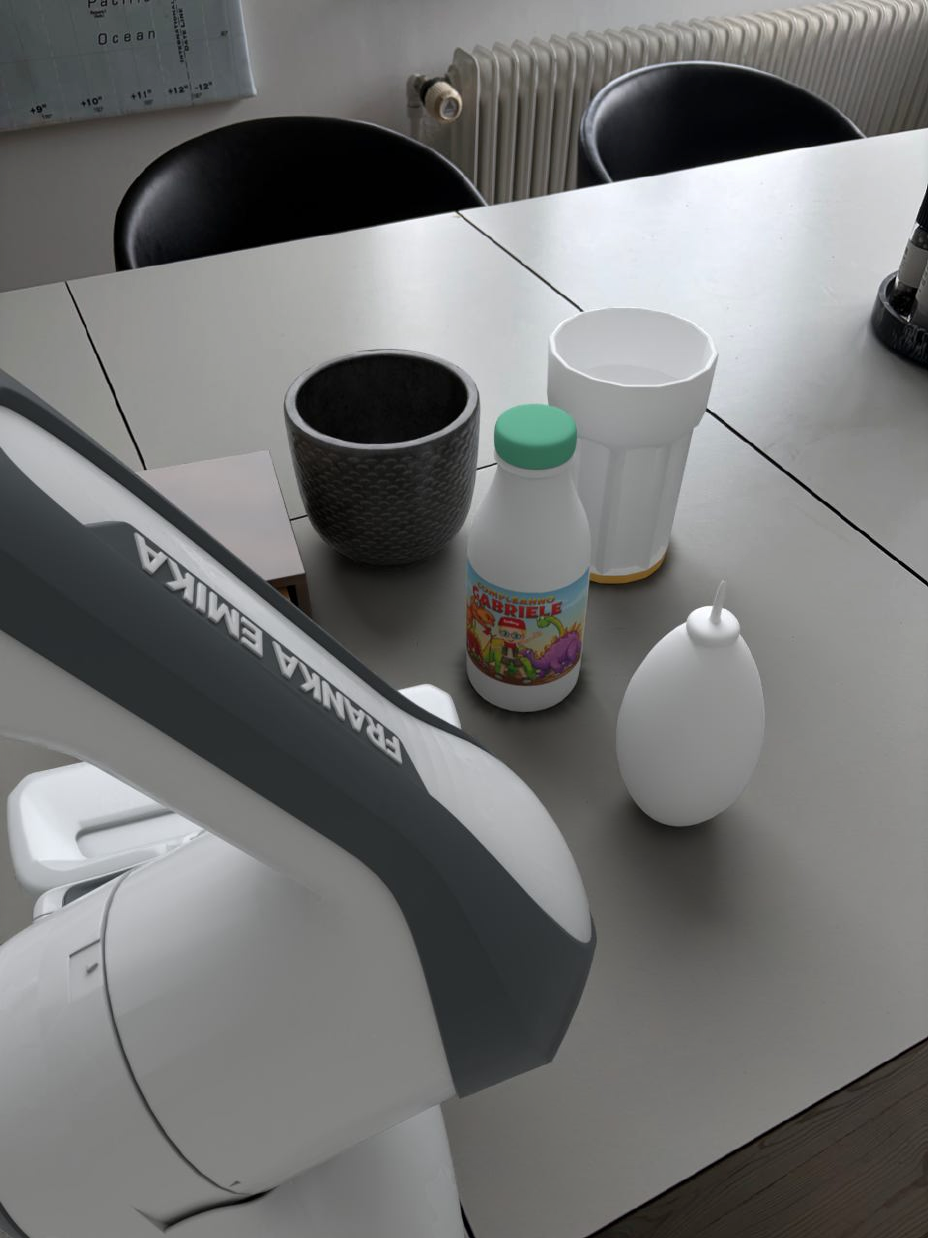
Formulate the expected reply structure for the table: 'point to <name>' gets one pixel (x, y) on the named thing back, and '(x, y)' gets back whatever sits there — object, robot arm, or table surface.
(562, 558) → the milk bottle
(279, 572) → the cabinet
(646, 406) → the cup
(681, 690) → the sauce bottle
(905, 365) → the table surface
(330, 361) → the planter
